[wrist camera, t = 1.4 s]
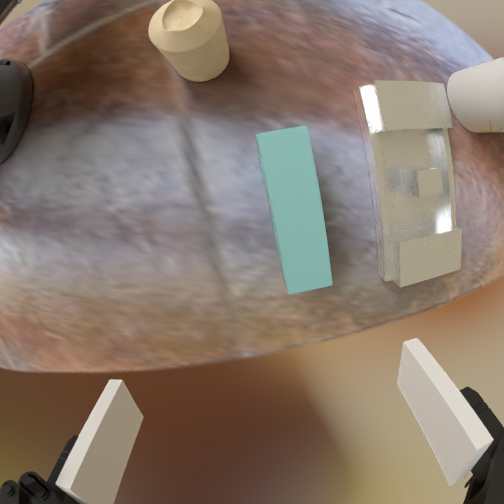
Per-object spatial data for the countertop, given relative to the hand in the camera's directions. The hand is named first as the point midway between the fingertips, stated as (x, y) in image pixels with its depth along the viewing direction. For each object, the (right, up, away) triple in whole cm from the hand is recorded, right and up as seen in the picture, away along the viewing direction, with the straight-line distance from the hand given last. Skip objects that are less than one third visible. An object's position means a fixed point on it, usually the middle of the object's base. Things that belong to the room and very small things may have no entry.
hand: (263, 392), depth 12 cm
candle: (-5, +25, +12) cm, 28 cm away
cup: (+26, +25, +12) cm, 38 cm away
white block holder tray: (+16, +14, +15) cm, 26 cm away
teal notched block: (+3, +11, +16) cm, 20 cm away
